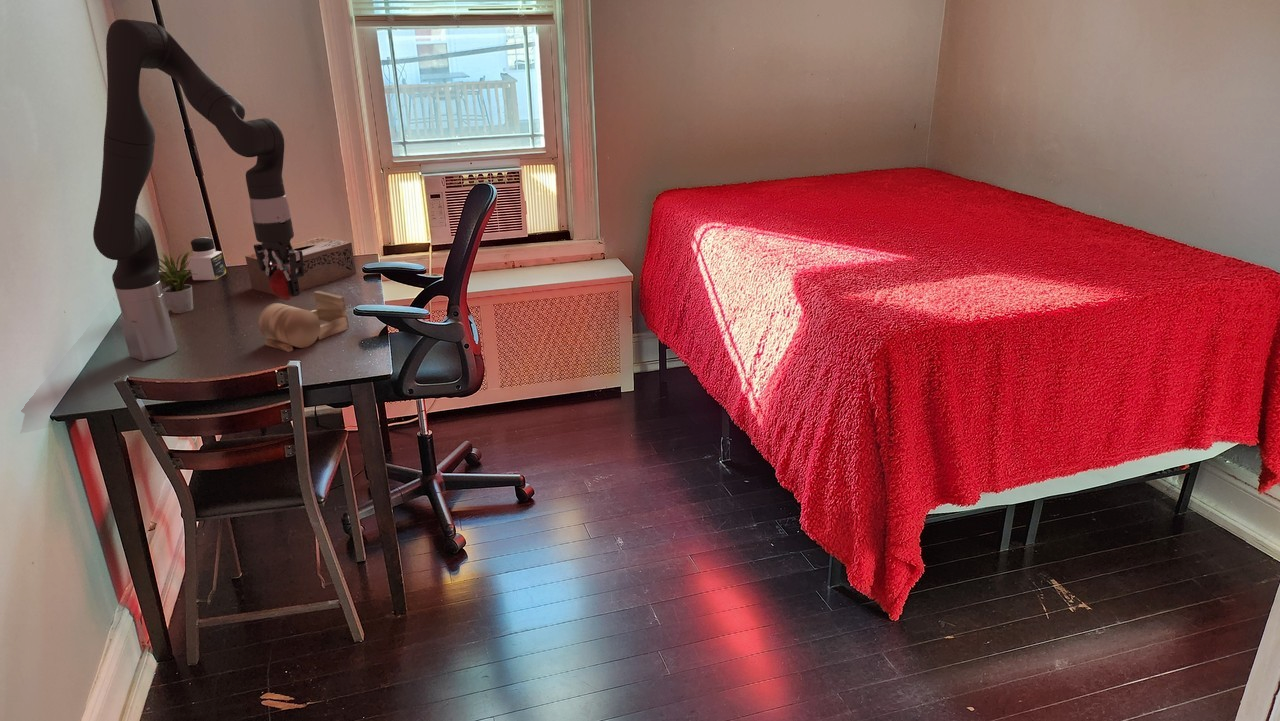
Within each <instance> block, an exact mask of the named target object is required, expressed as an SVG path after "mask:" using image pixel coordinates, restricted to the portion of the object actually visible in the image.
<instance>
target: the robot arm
mask: <svg viewBox="0 0 1280 721" xmlns="http://www.w3.org/2000/svg"><path fill="white" fill-rule="evenodd" d="M105 41H106V42H105V51H106V52H105V53H106V56H105V57H106V78H107V80H106V81H107V82H106V83H107V84H106V85H107V89H106V90H107V95H106V116H105V118H106V119H105V126H104V133H103V135H104V136H103V145H102V146H103V149H102V150H103V151H102V152H103V154H102V166H101V167H102V168H101V181H100V194H99V195H100V196H99V201H98V205H97V211H96V215H95V219H94V220H95V221H94V225H93V231H92V232H93V233H92V236H93V243H94V246H95V248H96V250H98V252H99V253H100V254H101V255H102V256H103V257H105V258H107V259H109V260H112V261H117V262H116V266H115V269H114V271H113V273H112V276H111V279H112V284H113V286H114V290H115V293H116V297H117V300H118V304H119V308H120V312H121V314H122V317H120V318H119V322H120V326H121V329H122V334H123V336H124V339H125V343H126V344H125V345H126V346H127V351H128V355H129V357H130V358H133V359H136V360H138V361H142V362H146V361H149V360H155V359H162V358H165V357H169V356H170V355H172V354H174V353H175V352H177V350H178V345H177V339H176V337H175V333H174V330H173V325H172V322H171V318H170V314H169V310H168V306H167V302H166V299H165V298H166V297H165V295H164V293H163V286H162V282H160V278H159V274H160V272H159V271H160V270H159V268H161V267H160V265H161V264H160V260H159V259H160V258H159V253H158V249H157V243H156V239H155V235H154V232H153V229H152V227H151V225H150V223H149V222H148V221H147V219H146V218H145V217H144V216H142V215H140V214H139V213H137V211H136V210H137V204H138V200H139V197H140V195H141V192H142V190H143V188H144V185H145V184H146V181H147V179H148V177H149V174H150V173H151V169H152V167H153V161H154V155H155V145H156V144H155V143H156V132H155V129H154V128H155V127H154V125H153V122H152V121H151V118H150V117H149V114H148V112H147V111H146V110H147V109H146V108H145V106H144V103H143V101H142V98H141V94H140V81H141V80H140V77H141V72H142V70H141V69H148V70H149V69H151V70H155V69H156V70H159V71H161V72H163V73H165V74H166V75H168V76H170V77H171V78H172V79H173V80H175V81H176V82H177V83H178V84H179V85H180V87H181V89H182V92H183V94H184V97H185V99H186V100H187V102H188V103H189V104H190V106H191V107H192V108H193V109H194V110H195V111H196V112H197V113H199V115H201V116H202V117H203V118H204V119H206V121H208V122H209V123H211V124H212V125H213V126H215V128H216V129H217V131H218V133H219V134H220V136H221V137H222V138H223V139H224V141H225V142H226V144H227V146H229V148H230V149H231V150H232V151H233V152H234V153H236V154H237V155H239V156H242V157H244V158H255V157H257V158H256V163H255V165H253V166H252V167H251V168H249V169H248V170H246V172H245V182H246V187H247V193H248V197H249V209H250V215H251V219H252V224H253V230H254V233H255V239H256V241H257V242H258V243H256V244H253V250H254V254H256V257H257V260H258V263H259V267H260V270H261V271H265V272H266V275H268V277H269V282H270V278H271V276H272V275H273V273H274V272H275V271H276V270H277V269H278V267H279V268H280V270H281V271H283V272H284V274H285V276H286V279H287V286H288V291H289V295H290V296H291V298H292V297H293V298H294V297H297V296H299V295H300V294H301V291H300V289H299V283H298V278H299V277H303V276H304V266H303V253H302V251H301V250H298V251H295V250H293V248H292V246H291V244H292V243H291V240H293V238H294V237H295V233H294V232H295V231H294V227H293V222H292V217H291V216H292V215H291V210H290V205H289V202H288V198H287V196H286V191H285V185H284V180H283V179H284V178H283V169H284V168H283V167H284V158H285V156H284V155H285V138H284V134H283V131H282V129H281V127H280V126H279V125H278V123H277V122H276V121H275V120H273V119H271V118H267V117H266V118H265V117H264V118H257V119H250V120H244V119H245V116H246V110H245V107H244V106H243V104H242V103H241V102H240V101H239V100H238V99H237V98H235V97H234V96H233V95H232V94H231V93H229V91H227V90H226V89H224V88H223V87H222V86H221V85H220V84H218V83H217V82H216V81H215V80H214V79H212V78H211V76H209V75H208V74H207V73H206V72H205V71H204V70H203V69H202V68H201V67H200V66H199V65H198V63H197V62H196V61H195V60H194V59H193V58H192V57H191V56H190V55H189V53H187V51H185V49H184V48H183V47H182V46H181V45H180V44H179V42H178V41H177V40H176V39H175V37H173V35H171V34H170V33H169V31H168V30H166V28H164V27H163V26H161V25H160V24H157V23H155V22H152V21H145V20H144V21H143V20H136V19H126V18H122V19H121V18H120V19H116V20H114V21H113V22H112V23H110V26H109V28H108V30H107V34H106V40H105ZM264 259H265V261H264V263H263V260H264ZM289 262H290V265H287V266H285V264H289ZM296 268H298V271H299V272H298V271H297V269H296ZM288 269H290V272H291V274H290V273H289V271H288ZM271 291H272V290H271Z"/></svg>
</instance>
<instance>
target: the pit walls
mask: <svg viewBox="0 0 1280 721" xmlns="http://www.w3.org/2000/svg"><path fill="white" fill-rule="evenodd" d="M313 293H314V294H313V295H314V300H315V305H316V309H312V310H310V311H311V312H313V313H314V314H315V315H316V316H317V317H318V319H320V320H324V321H328V323H325V324H322V325H320V332H319V335H318V337H317V339H316V340H320V341H321V340H322V339H325V338H329V337H331V336H333V335H336V334H339V333H341V332H344V331H346V330H348V328H349V327H350V325H349V324H350V323H349V319H348V313H347V306H346V303H345V296H343V295H338V294H333V293H331V292H325V291H322V290H316V291H314V292H313Z"/></svg>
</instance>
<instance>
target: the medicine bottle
mask: <svg viewBox="0 0 1280 721" xmlns="http://www.w3.org/2000/svg"><path fill="white" fill-rule="evenodd" d="M190 244H191V245H190V246H191V250H193V251H192V253H193V254H192V255H191V256H190V255H189V256H188V258H187V261H188V262H189V261H190V262H189V264H188V265H189V267H190V268H189V269H190V270H192V271H193V272H192V271H190V273H191V274H194V275H191V277H192V280H193V281H216V280H218V279H219V278H221V277H222V276H225V275H226V274H227V269H226V268H227V267H226V265H225V260H224V257H223V256H224V255H223V252H222V251H221V250H220V251H219V250H216V248H215V243H214V239H212V237H208V236H207V237H206V236H204V237H203V236H202V237H197V238H193V239H192V240H191V241H190ZM191 258H192V259H191ZM190 259H191V260H190ZM196 274H197V275H196Z"/></svg>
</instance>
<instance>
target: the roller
mask: <svg viewBox="0 0 1280 721" xmlns="http://www.w3.org/2000/svg"><path fill="white" fill-rule="evenodd" d="M311 311H312V310H308V309H307V310H306V309H303V308H300V307H297V306H296V307H295V306H293V305H288V304H285V303H284V304H283V303H280V302H273V303H270V304H268V305H267V306H265V307H264V308H263V310H262V311H261V312H260V314H259V317H258V328H259V331H260V333H261V334H262V335H263V336H264V337H265V338H267V339H264V344H265V346H268V347H272V348H274V349H278V350H282V351H284V352H288V353H289V352H292V351H294V347H296V348H301V349H303V348H307V347H309V346H311V345H312V344H314V343H315V342H316V340H318V339H317V337H318V335H319V332H320V322H319V319H318V317H317V316H316V315H315V314H314V313H313V312H311Z"/></svg>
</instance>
